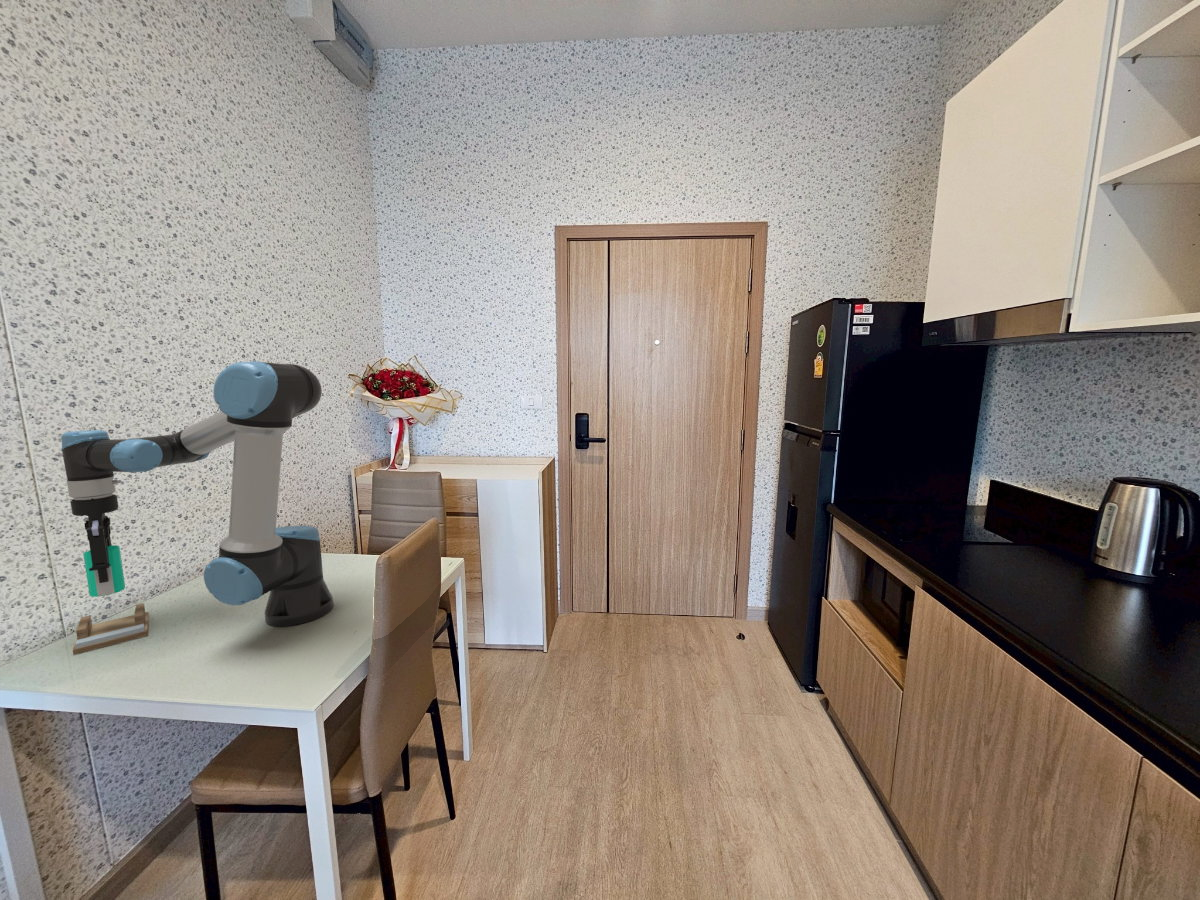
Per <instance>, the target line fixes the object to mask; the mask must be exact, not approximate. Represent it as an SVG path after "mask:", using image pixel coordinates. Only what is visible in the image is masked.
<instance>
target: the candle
mask: <svg viewBox="0 0 1200 900" xmlns="http://www.w3.org/2000/svg"><path fill="white" fill-rule="evenodd" d="M107 547H108V556H109V564H110V566H111V570H112V577H113V584H114V591H115V593H114V594H117V593H119V592H122V591H124V590H125V588H126V584H125V575H124V569H123V563H122V555H121V548H120V545H116V544H115V545H112V546H107ZM82 556H83V561H84V566H85V567H84V568H85V573H86V574H85V575H86V579H87V580H86V581H87V586H88V593H89V594H88V595H89V596H90V597H92V598H93V597H98V593H97V587H96V580H95V574H94V570H93V571H89V568H92V559H91V552H90V549H88V550H87V551H86V552H83V553H82ZM97 564H98V563H97ZM110 595H111V594H109V595H108V596H110ZM105 596H107V595H104V596H103V597H105ZM99 597H101V596H99Z"/></svg>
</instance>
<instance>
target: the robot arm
mask: <svg viewBox="0 0 1200 900" xmlns="http://www.w3.org/2000/svg"><path fill="white" fill-rule="evenodd" d="M213 384H214V385H213V398H214V401H215V404H216V405H217V404H218V407H217V408H218V409H219V410H220V411H219V412H216V413H214V414H212V415H211V416H209V417H207V418H205V419H202V420H200V421H199V422H196V423H194V424H192V425H190V426H187V427H185V428H184V429H182V430H180V431H177V432H176V433H173V434H172V433H171V434H165V435H155V436H146V437H135V438H124V439H123V438H121V439H120V438H119V439H116V438H115V439H113V438H112V439H110V436H109V434H108V432H107V431H106V430H102V429H89V430H87V429H86V430H75V431H73V430H72V431H66V432H64V433H63V434H62V435H61V437H60V439H61V448H60V451H61V452H62V459H63V463H64V470H65V475H66V484H67V493H68V496H69V497H70V498H71V500H70V508H71V515H73V516H74V517H75V516H76V517H84V516H86V517H87V520H85V522H84V530H86V536H87V540H88V543H89V544H88V545H89V550H90V552H91V559H92V568H89V571H93V570H94V574H95V580H96V587H97V593H98V597H99V596H100V597H105V596H104V595H106V596H110V595H114V594H116V593H115V591H114V584H113V577H112V570H111V566H110V564H109V556H108V547H107V546H113V545H112V539H111V518H110V517H109V516H108V515H106V513H107V514H109V513H113V512H115V511H117V510H118V509H119V502H118V495H116V494H115V492H116V491H117V490H116V485H117V484H119V480H118V479H115V477H114V476H115V472H116V473H131V474H134V473H135V474H136V473H143V472H151V471H153V470H154V469H155V468H160V467H161V468H163V467H166V466H172V465H173V466H174V465H180V464H181V465H182V464H187V463H188V464H191V463H195V462H197V461H202V460H204V459H206V458H208V457H209V455H210V453H211V452H212V451H214V450H217V449H219V448H221V447H222V446H225V445H227V444H230V443H232V442H234V443H233V457H232V458H233V460H232V478H231V493H230V508H229V527H228V535H227V536H226V537H224V538H223V539H222V540H220V542H219V549H218V557H216V558H214V559H212V560H211V561H210V562H209V563H208V564H206V566H205V568H204V571H203V581H204V584H205V587H206V589H207V590H208V592H209V593H210V594H211V595H212V596H213V597H214V598H215V599H216V600H217V601H219V602H221V603H222V604H226V605H229V606H241V605H245V604H248V603H250V602H251V601H255V600H258V599H260V597H262V596H263V595H265V594H267V593H269V596H268V600H267V603H266V606H265V609H264V619H265V620H264V621H265V623H266V624H267V625H270V626H271V627H273V626H274V627H291V626H296V625H301V624H305V623H309V622H312V621H316V619H320V618H321V617H323V616H326V615H327V614H329V612H331V610H332V609H333V608H334V598H333V595H332V593H331V592H330V589H329V587H328V586H327V583H326V581H325V579H324V572H323V571H324V569H323V560H322V549H321V542H322V540H321V539H320V538H321V537H320V533H319V532H320V531H319V529H318V528H317V527H315V526H312V525H291V526H290V525H289V526H287V525H286V526H280V527H277V518H278V517H277V515H278V504H279V490H280V479H281V478H280V477H281V476H280V475H281V467H282V466H281V465H282V452H283V451H282V450H283V438H284V433H285V432H286V431H288V430H290V429H292V425H293V419H295V418H296V417H298V416H301V415H303V414H305V413H308V412H309V411H310V412H311V410H313V409H315V407H317V405H318V404H319V402H320V401H321V399H322V393H323V392H322V391H323V390H322V385H321V382H320V380H319V379H318V377H317V375H315V374H314V373H313V372H312V371H311V370H309V369H308V368H307V367H304V366H302V365H298V364H291V363H278V362H277V363H276V362H275V363H274V362H265V361H255V360H251V361H239V362H234V363H232V364H230V365H228V366H227V367H225V368H224V369H222V370H221V372H219V374H218V375H217V377H216V379H215V381H214V383H213ZM97 563H98V564H97ZM109 594H110V595H109Z"/></svg>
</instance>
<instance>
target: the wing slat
mask: <svg viewBox="0 0 1200 900" xmlns="http://www.w3.org/2000/svg"><path fill="white" fill-rule="evenodd" d="M143 631H144V624H140V625H136V626H132V627H128V628H124V629H120V630H116V631H111V632H107V633H103V634H99V635H95V636H91V637H87V638H83V639H79V640H77V639H76V640H77V642H76V641H75V642H76V648H80V647H84V646H88V645H92V644H95V643H99V642H103V641H107V640H111V639H115V638H119V637H123V636H127V635H131V634H135V633H139V632H143Z"/></svg>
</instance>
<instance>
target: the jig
mask: <svg viewBox="0 0 1200 900" xmlns="http://www.w3.org/2000/svg"><path fill="white" fill-rule="evenodd" d="M149 622H150V614H149V611H146V607H145V603H144V602H143V603H138V604H135V610H134V614H132V615H129V616H124V617H119V618H116V619H111V620H107V621H104V622H99V623H93V624H92V616H91V615H86V616H82V617H81V618H80V620H79V622H78V625H77V627H76V630H75V632H76V640H75V642H74V645H73V647H72V654H73V656H75V655H78V654H83V653H88V652H92V651H95V650H98V649H102V648H106V647H110V646H113V645H117V644H122V643H126V642H130V641H133V640H138V639H141V638H144V637H148V634H149V633H148V632H149ZM140 624H144V631H143V632H139V633H135V634H131V635H127V636H123V637H119V638H115V639H111V640H107V641H103V642H99V643H95V644H92V645H88V646H84V647H80V648H76V642H77V640H79V639H83V638H87V637H91V636H95V635H99V634H103V633H107V632H111V631H116V630H120V629H124V628H128V627H132V626H136V625H140Z"/></svg>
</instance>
